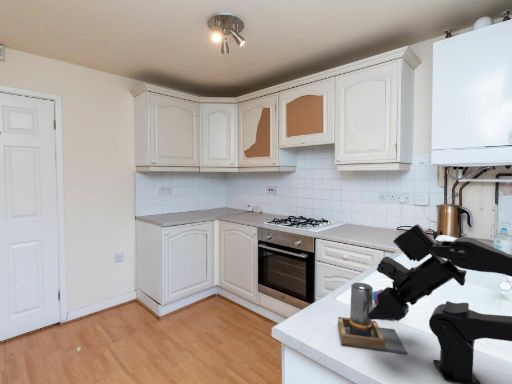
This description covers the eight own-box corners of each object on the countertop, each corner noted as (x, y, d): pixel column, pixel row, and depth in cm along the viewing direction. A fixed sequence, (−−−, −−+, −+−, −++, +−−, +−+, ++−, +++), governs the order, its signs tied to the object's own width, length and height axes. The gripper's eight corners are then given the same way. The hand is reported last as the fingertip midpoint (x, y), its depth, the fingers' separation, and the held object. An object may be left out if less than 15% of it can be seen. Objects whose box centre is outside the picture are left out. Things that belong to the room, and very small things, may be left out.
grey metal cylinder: (374, 342, 71) (376, 290, 70) (352, 341, 71) (354, 289, 70) (366, 330, 76) (368, 282, 75) (346, 329, 76) (348, 281, 76)
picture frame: (407, 354, 67) (407, 343, 67) (341, 345, 70) (341, 335, 70) (394, 330, 77) (394, 321, 77) (337, 323, 80) (338, 315, 80)
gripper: (408, 242, 74) (365, 275, 82) (388, 255, 60) (338, 293, 67) (443, 279, 69) (394, 310, 77) (430, 302, 55) (371, 337, 62)
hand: (375, 311), depth 71 cm, fingers open, 9 cm apart
